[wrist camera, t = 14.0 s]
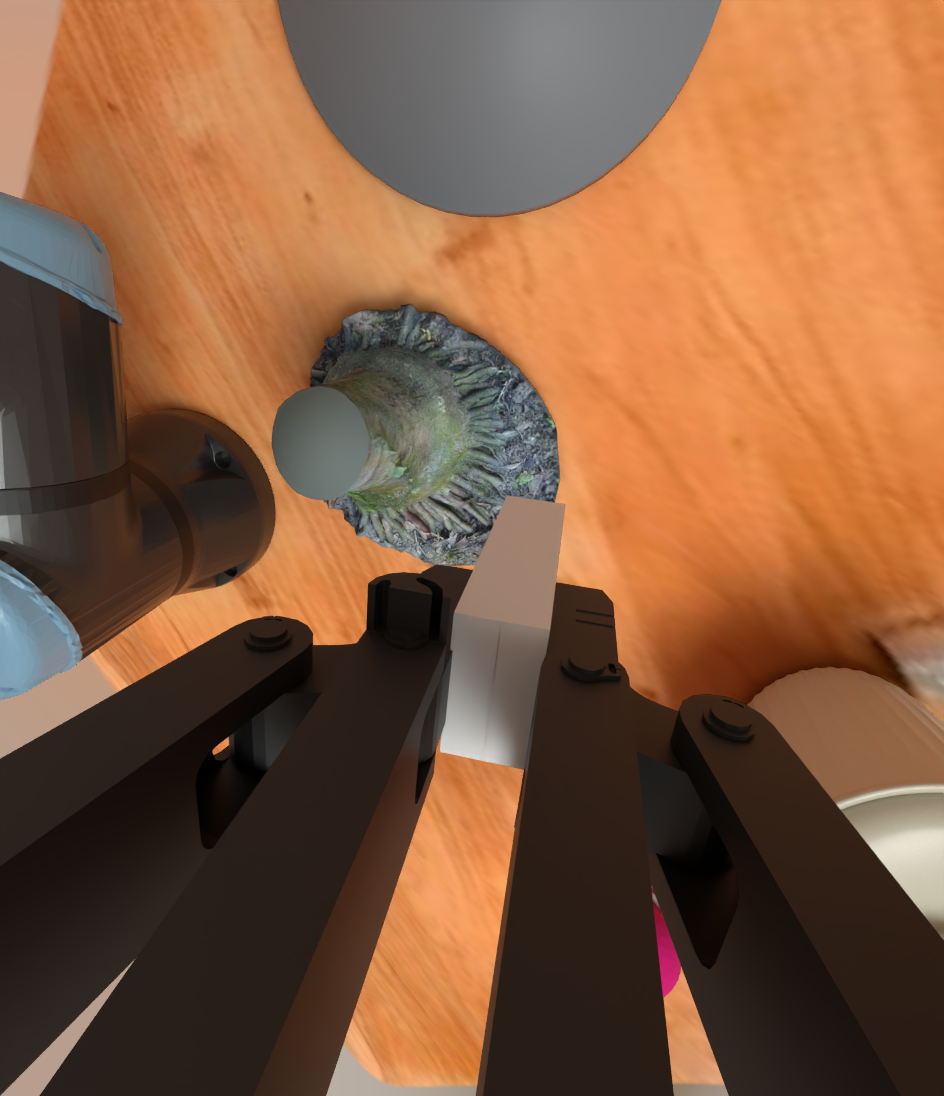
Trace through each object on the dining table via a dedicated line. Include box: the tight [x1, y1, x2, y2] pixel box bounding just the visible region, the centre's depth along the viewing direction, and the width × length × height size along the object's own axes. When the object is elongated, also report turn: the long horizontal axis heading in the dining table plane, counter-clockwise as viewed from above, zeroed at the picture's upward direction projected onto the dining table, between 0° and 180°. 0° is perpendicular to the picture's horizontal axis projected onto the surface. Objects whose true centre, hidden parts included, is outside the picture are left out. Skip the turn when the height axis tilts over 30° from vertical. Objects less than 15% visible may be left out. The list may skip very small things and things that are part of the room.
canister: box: [747, 667, 944, 940], centre depth 38 cm, size 18×18×21 cm
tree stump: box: [272, 304, 560, 566], centre depth 40 cm, size 18×20×18 cm
